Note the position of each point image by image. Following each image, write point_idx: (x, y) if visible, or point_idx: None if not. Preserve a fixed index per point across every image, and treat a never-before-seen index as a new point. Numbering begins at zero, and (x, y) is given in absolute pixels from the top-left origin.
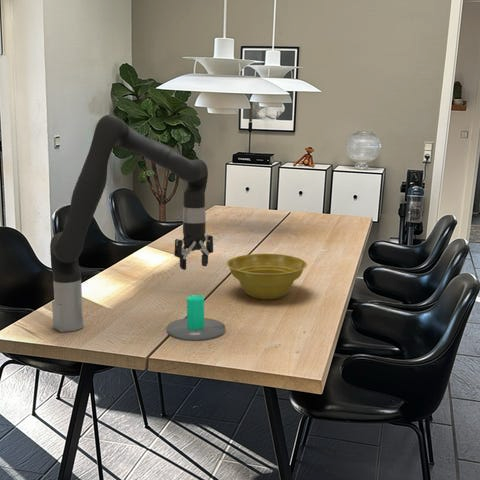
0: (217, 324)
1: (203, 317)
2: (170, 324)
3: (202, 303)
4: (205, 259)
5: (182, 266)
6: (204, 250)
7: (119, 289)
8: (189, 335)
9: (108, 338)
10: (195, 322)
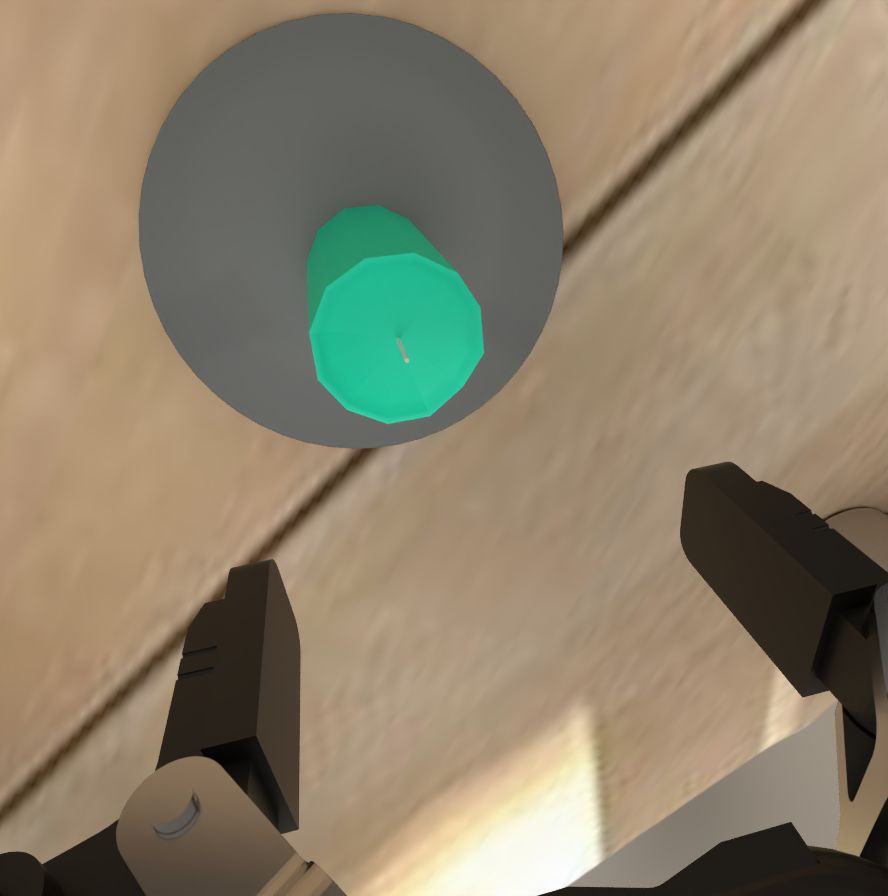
0: (193, 242)
1: (329, 238)
2: (489, 385)
3: (351, 256)
4: (261, 659)
5: (791, 499)
6: (317, 885)
7: (441, 866)
8: (487, 123)
9: (815, 366)
10: (404, 223)
